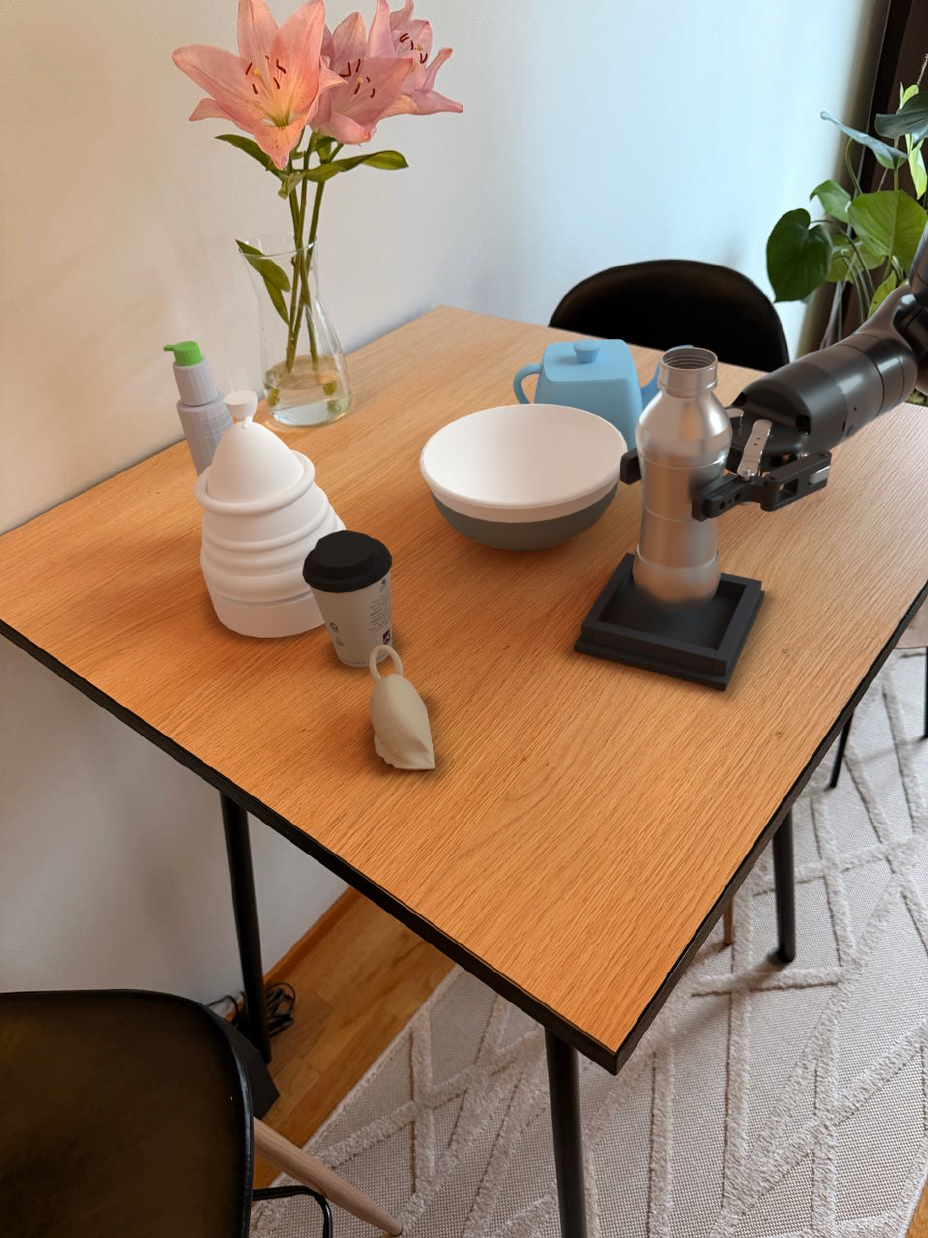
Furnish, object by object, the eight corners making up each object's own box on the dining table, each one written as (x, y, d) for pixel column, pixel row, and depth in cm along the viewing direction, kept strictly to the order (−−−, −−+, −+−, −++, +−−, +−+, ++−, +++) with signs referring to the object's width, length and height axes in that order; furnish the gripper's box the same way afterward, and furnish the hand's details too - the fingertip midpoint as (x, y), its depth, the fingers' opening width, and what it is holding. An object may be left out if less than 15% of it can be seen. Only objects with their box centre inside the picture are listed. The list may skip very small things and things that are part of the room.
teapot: (693, 470, 92) (702, 363, 84) (515, 478, 94) (509, 373, 86) (679, 414, 101) (686, 313, 94) (517, 422, 103) (512, 323, 96)
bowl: (656, 561, 80) (660, 480, 75) (450, 603, 78) (440, 523, 73) (588, 462, 95) (588, 389, 90) (413, 495, 93) (403, 422, 87)
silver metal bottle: (700, 633, 68) (722, 387, 56) (617, 609, 72) (620, 371, 59) (729, 585, 72) (756, 345, 60) (650, 564, 76) (659, 332, 63)
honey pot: (224, 558, 87) (169, 382, 75) (358, 543, 87) (323, 364, 75) (204, 645, 77) (138, 457, 65) (355, 628, 77) (315, 437, 65)
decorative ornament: (377, 779, 64) (365, 726, 60) (373, 697, 70) (362, 645, 67) (434, 771, 64) (426, 718, 60) (425, 690, 70) (417, 638, 67)
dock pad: (764, 598, 75) (767, 576, 74) (725, 691, 67) (728, 668, 66) (625, 568, 80) (626, 546, 79) (573, 651, 72) (573, 629, 71)
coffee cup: (421, 655, 73) (405, 554, 67) (343, 689, 71) (319, 588, 65) (384, 611, 78) (366, 513, 72) (310, 642, 76) (284, 543, 70)
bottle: (241, 525, 91) (185, 332, 79) (274, 536, 89) (221, 339, 77) (210, 548, 88) (147, 351, 76) (243, 559, 86) (184, 359, 74)
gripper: (738, 337, 73) (587, 409, 66) (902, 390, 64) (745, 481, 57) (730, 421, 78) (587, 497, 71) (881, 482, 69) (734, 576, 62)
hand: (658, 489), depth 64 cm, fingers closed on silver metal bottle, 6 cm apart
